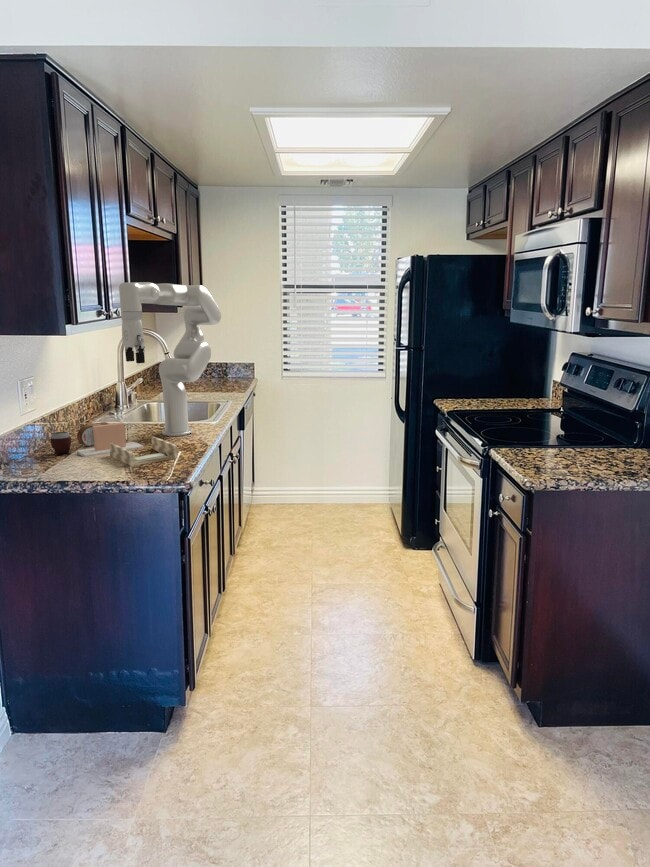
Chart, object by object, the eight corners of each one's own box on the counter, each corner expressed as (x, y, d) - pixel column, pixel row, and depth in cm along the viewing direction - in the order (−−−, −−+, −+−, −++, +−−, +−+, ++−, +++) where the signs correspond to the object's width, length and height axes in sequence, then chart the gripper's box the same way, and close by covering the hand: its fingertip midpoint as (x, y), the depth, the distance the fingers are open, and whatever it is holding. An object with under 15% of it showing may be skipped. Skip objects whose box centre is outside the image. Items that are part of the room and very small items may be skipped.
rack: (110, 456, 224) (109, 443, 223) (154, 449, 234) (153, 436, 233) (131, 467, 209) (130, 452, 208) (177, 458, 220) (176, 445, 219)
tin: (112, 440, 250) (110, 420, 248) (116, 441, 248) (115, 421, 246) (77, 447, 239) (75, 426, 237) (82, 448, 237) (79, 427, 235)
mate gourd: (76, 452, 231) (72, 412, 228) (63, 457, 224) (59, 416, 220) (58, 451, 233) (54, 412, 229) (45, 456, 225) (40, 416, 222)
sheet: (94, 449, 230) (92, 426, 228) (123, 445, 237) (121, 422, 235) (97, 451, 228) (94, 427, 226) (126, 446, 235) (124, 423, 233)
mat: (77, 453, 229) (76, 450, 229) (134, 444, 243) (134, 441, 243) (85, 457, 222) (85, 455, 222) (143, 448, 236) (143, 445, 236)
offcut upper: (133, 461, 216) (133, 458, 216) (160, 456, 222) (160, 453, 222) (138, 463, 213) (138, 460, 213) (165, 458, 219) (165, 454, 219)
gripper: (113, 316, 236) (117, 361, 240) (131, 317, 223) (134, 364, 226) (132, 315, 240) (135, 359, 244) (150, 316, 227) (154, 363, 231)
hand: (135, 362), depth 235 cm, fingers open, 9 cm apart
